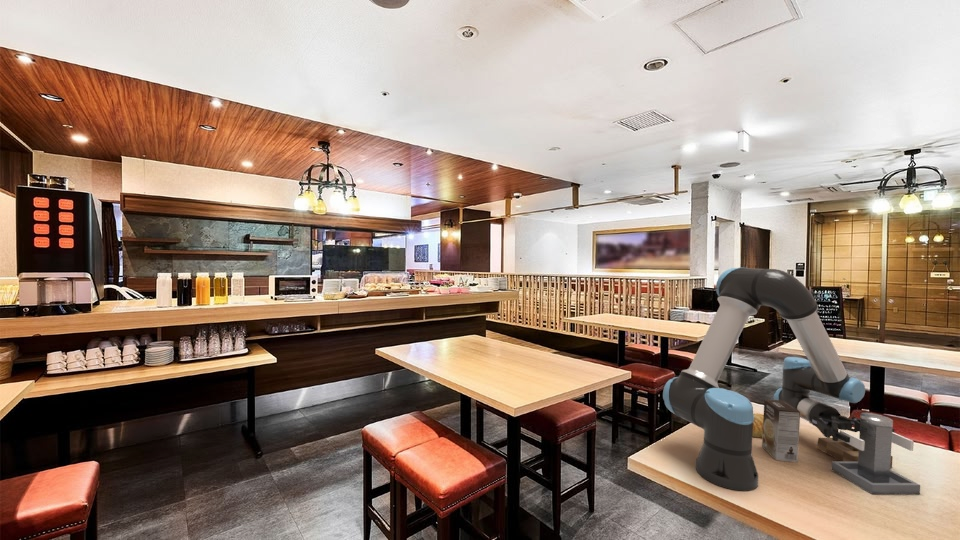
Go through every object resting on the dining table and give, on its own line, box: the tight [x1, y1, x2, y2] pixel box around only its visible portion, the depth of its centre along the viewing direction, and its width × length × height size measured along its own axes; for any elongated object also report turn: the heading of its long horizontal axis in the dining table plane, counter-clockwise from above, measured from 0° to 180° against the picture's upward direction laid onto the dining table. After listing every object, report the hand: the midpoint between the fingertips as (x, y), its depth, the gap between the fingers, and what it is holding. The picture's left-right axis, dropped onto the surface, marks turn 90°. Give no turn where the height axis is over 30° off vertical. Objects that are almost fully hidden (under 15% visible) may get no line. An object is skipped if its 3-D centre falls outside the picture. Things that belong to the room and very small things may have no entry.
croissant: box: [752, 413, 764, 439], centre depth 141 cm, size 21×10×8 cm, turn 99°
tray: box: [830, 460, 921, 495], centre depth 111 cm, size 13×12×2 cm
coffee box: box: [761, 399, 801, 463], centre depth 126 cm, size 9×6×16 cm
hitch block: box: [817, 437, 894, 469], centre depth 124 cm, size 12×12×4 cm
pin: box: [857, 412, 894, 483], centre depth 111 cm, size 6×6×18 cm
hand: (887, 445), depth 108 cm, fingers open, 13 cm apart
